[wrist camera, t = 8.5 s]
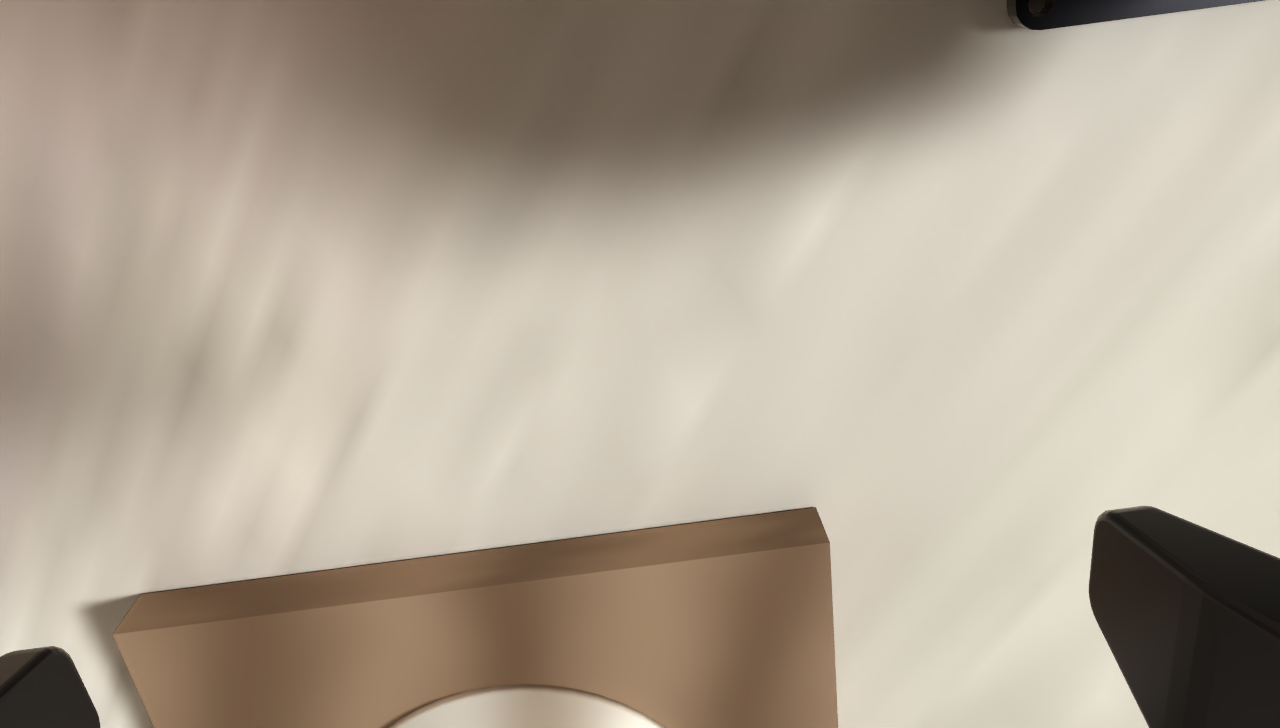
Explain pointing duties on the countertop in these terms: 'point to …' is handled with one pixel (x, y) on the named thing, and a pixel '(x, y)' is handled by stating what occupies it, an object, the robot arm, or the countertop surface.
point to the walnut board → (511, 637)
